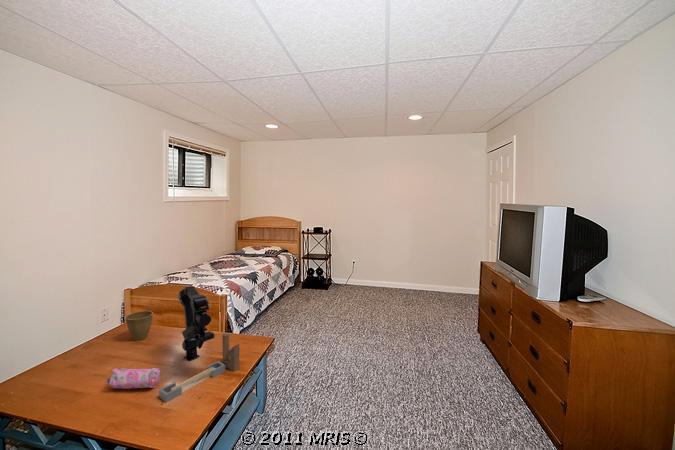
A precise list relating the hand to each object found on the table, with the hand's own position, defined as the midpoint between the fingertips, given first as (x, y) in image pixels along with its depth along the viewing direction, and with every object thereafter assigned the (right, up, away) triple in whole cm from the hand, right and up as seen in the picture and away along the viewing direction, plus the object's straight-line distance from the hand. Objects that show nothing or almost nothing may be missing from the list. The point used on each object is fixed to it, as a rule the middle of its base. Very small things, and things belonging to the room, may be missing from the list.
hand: (199, 348), depth 152 cm
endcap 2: (+9, -12, -2) cm, 15 cm away
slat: (+3, -13, -11) cm, 17 cm away
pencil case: (-25, -13, -14) cm, 31 cm away
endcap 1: (-3, -13, -20) cm, 24 cm away
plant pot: (-57, -9, +36) cm, 68 cm away
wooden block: (+15, -12, +4) cm, 20 cm away
